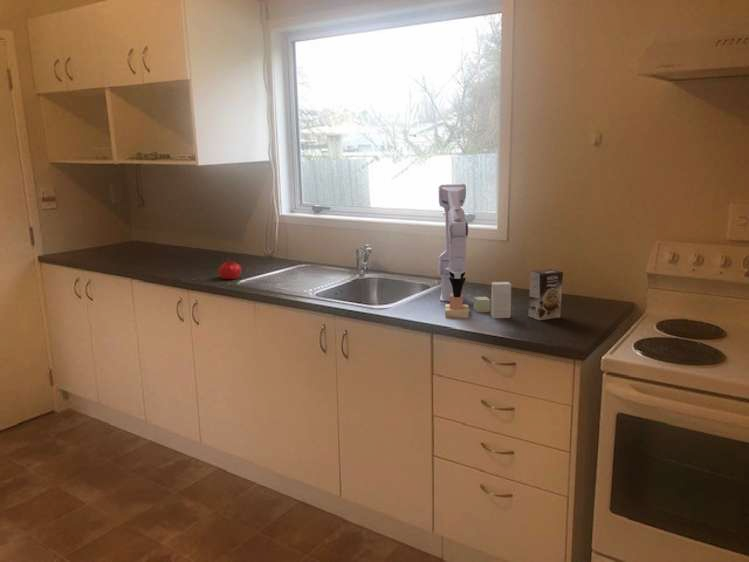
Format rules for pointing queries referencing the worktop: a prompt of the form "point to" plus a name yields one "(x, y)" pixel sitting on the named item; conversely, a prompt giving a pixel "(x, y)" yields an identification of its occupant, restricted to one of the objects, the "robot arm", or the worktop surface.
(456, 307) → the terracotta cube
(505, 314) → the skincare box
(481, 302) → the sage cube
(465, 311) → the maple slab
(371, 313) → the worktop surface
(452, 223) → the robot arm
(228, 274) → the pomegranate
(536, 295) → the coffee box
